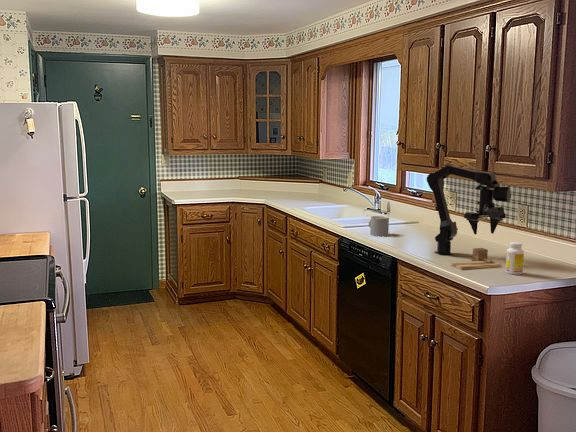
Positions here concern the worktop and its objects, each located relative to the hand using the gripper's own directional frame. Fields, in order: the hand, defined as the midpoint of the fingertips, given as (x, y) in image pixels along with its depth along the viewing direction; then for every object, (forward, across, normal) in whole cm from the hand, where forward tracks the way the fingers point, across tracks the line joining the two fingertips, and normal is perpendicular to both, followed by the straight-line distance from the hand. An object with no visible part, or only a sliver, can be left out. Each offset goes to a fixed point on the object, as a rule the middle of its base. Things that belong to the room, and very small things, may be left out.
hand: (483, 233), depth 271 cm
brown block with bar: (+12, -4, -6) cm, 14 cm away
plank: (+12, -11, -10) cm, 19 cm away
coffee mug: (+12, -17, +70) cm, 73 cm away
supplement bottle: (+12, -3, -25) cm, 28 cm away
